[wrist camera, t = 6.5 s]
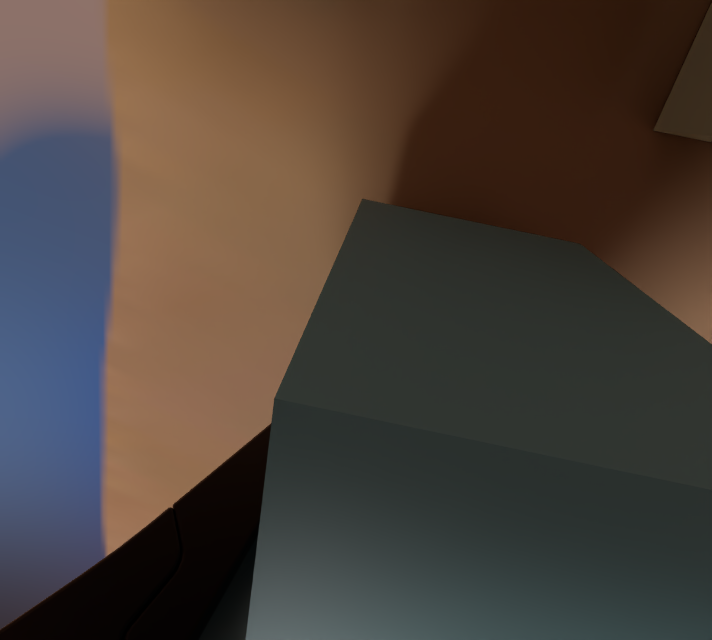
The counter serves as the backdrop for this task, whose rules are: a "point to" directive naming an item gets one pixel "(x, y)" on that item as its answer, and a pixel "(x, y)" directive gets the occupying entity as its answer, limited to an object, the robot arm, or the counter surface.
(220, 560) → the robot arm
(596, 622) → the grey teal rectangular block
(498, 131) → the counter surface
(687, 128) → the row of shelved books
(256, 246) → the counter surface
